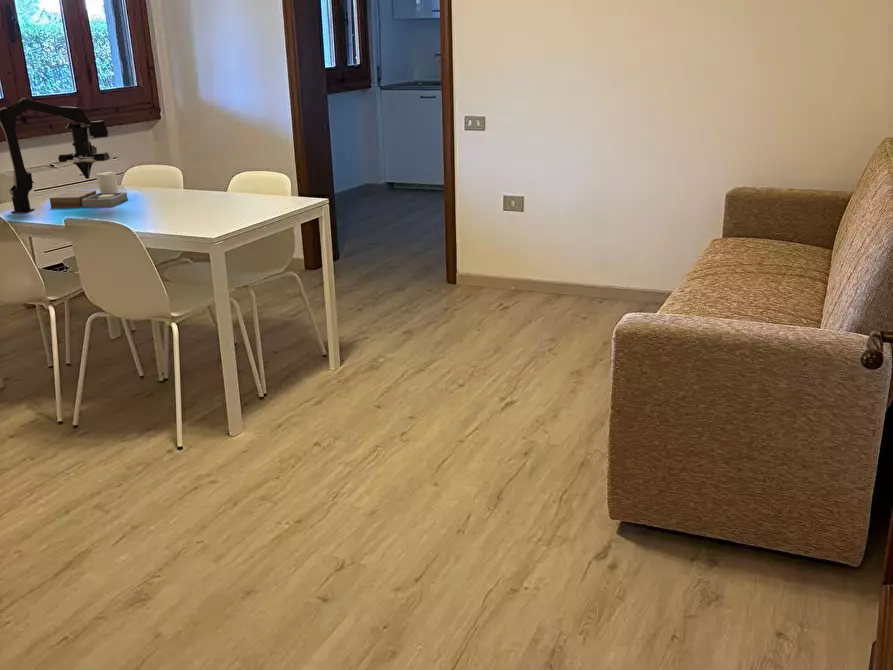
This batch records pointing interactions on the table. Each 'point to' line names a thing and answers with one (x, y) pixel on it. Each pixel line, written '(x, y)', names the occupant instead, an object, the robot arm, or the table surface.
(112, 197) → the tile
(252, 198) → the table surface
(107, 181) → the white cup
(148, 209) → the table surface
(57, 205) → the plate
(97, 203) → the box
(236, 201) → the table surface
